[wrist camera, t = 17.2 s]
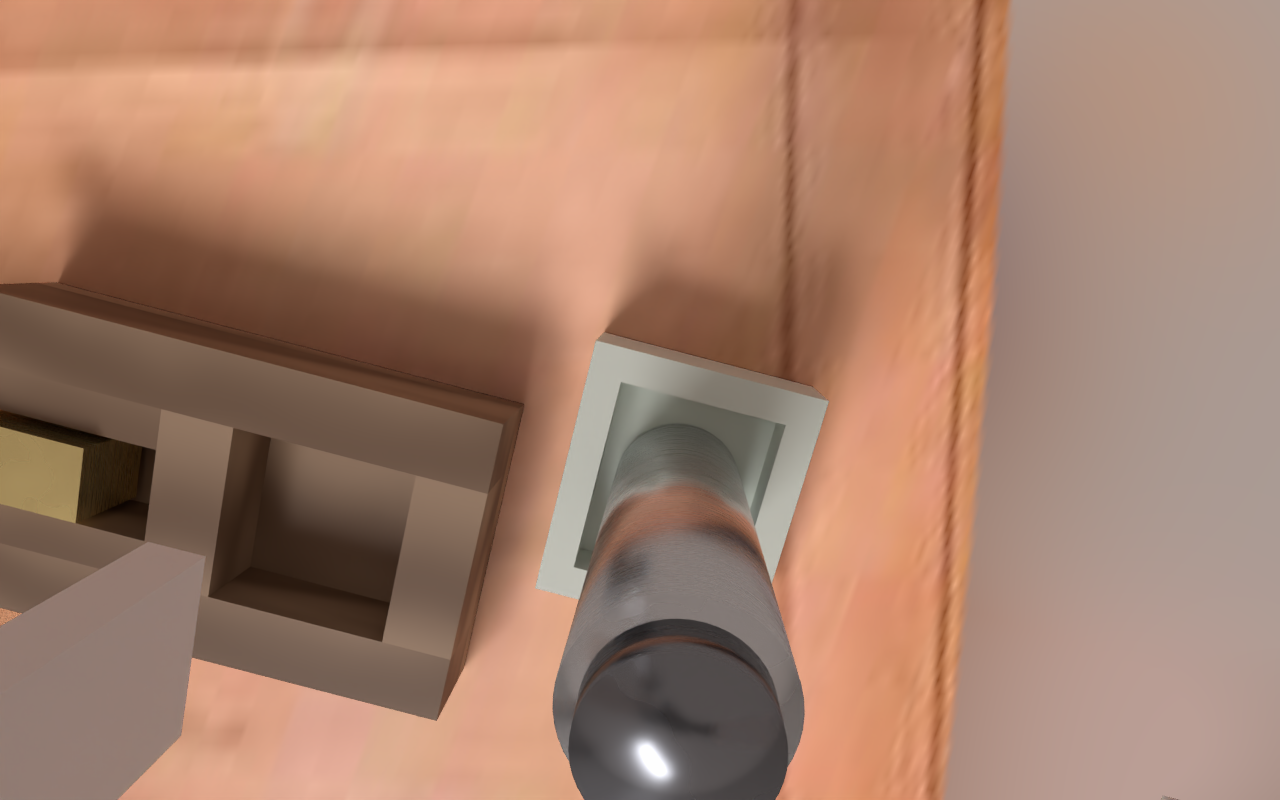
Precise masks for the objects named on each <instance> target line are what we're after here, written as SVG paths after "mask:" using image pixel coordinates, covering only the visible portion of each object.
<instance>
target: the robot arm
mask: <svg viewBox="0 0 1280 800" xmlns="http://www.w3.org/2000/svg"><path fill="white" fill-rule="evenodd" d="M205 557H206V556H202V555H198V554H194V553H190V552H187V551H183V550H179V549H175V548H171V547H167V546H163V545H159V544H155V543H151V542H147V543H145V544H144V545H142V546H140V547H138V548H137V549H135V550H133V551H131V552H130V553H128V554H126V555H124V556H123V557H121V558H119V559H117V560H116V561H114V562H112V563H110V564H108V565H107V566H105V567H103V568H101V569H100V570H98V571H96V572H94V573H93V574H91V575H89V576H87V577H86V578H84V579H82V580H80V581H79V582H77V583H75V584H73V585H72V586H70V587H68V588H66V589H65V590H63V591H61V592H59V593H58V594H56V595H54V596H52V597H51V598H49V599H47V600H45V601H44V602H42V603H40V604H38V605H37V606H35V607H33V608H31V609H30V610H28V611H26V612H24V613H23V614H21V615H19V616H17V617H16V618H14V619H12V620H10V621H8V622H7V623H5V624H3V625H1V626H0V800H118V799H119V798H120V797H121V796H122V795H123V794H124V793H125V792H126V791H127V790H128V789H129V787H130V786H131V785H132V784H133V783H134V782H135V781H136V780H137V779H138V778H139V777H140V776H141V775H142V774H143V773H144V772H145V771H146V770H147V769H148V768H149V767H150V766H151V765H152V764H153V763H154V762H155V761H156V760H157V759H158V758H159V757H160V756H161V755H162V754H163V753H164V752H165V751H166V750H167V749H168V748H169V747H170V746H171V745H172V744H173V743H174V742H175V741H176V740H177V739H178V738H179V737H180V736H181V732H182V725H183V717H184V710H185V703H186V696H187V688H188V681H189V674H190V666H191V659H192V652H193V645H194V637H195V630H196V623H197V615H198V608H199V601H200V593H201V586H202V579H203V572H204V564H205ZM1161 800H1178V799H1174V798H1170V797H1166V796H1162V798H1161Z"/></svg>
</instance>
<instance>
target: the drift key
mask: <svg viewBox="0 0 1280 800" xmlns="http://www.w3.org/2000/svg"><path fill="white" fill-rule="evenodd" d="M141 453H142V446H138V445H135V444H131V443H127V442H123V441H119V440H115V439H111V438H108V437H104V436H100V435H96V434H92V433H88V432H85V431H81V430H77V429H73V428H69V427H65V426H61V425H58V424H54V423H50V422H46V421H42V420H38V419H35V418H31V417H27V416H23V415H19V414H15V413H11V412H8V411H4V410H0V504H3V505H7V506H11V507H15V508H18V509H22V510H26V511H30V512H34V513H38V514H42V515H45V516H49V517H53V518H57V519H61V520H65V521H69V522H72V523H77V522H80V521H82V520H84V519H87V518H89V517H91V516H93V515H96V514H98V513H100V512H103V511H105V510H107V509H109V508H112V507H114V506H116V505H119V504H121V503H123V502H125V501H128V500H130V499H132V498H135V497H136V493H137V485H138V477H139V469H140V461H141Z"/></svg>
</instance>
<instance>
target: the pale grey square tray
mask: <svg viewBox="0 0 1280 800" xmlns="http://www.w3.org/2000/svg"><path fill="white" fill-rule="evenodd" d="M828 403H829V401H828V400H827V399H826V398H825V397H824V396H822V395H821V394H820V393H819V392H818V391H817V390H816V389H815V388H814V387H812V386H808V385H804V384H800V383H796V382H793V381H789V380H785V379H781V378H777V377H773V376H770V375H766V374H762V373H758V372H754V371H750V370H747V369H743V368H739V367H735V366H731V365H727V364H724V363H720V362H716V361H712V360H708V359H705V358H701V357H697V356H693V355H689V354H685V353H682V352H678V351H674V350H670V349H666V348H662V347H659V346H655V345H651V344H647V343H643V342H639V341H636V340H632V339H628V338H624V337H620V336H617V335H613V334H609V333H605V332H604V333H603V334H602V335H601V336H600V337H599V338H598V339H597V340H596V342H595V346H594V350H593V355H592V359H591V363H590V367H589V371H588V375H587V379H586V383H585V387H584V391H583V395H582V399H581V403H580V408H579V412H578V416H577V420H576V424H575V428H574V432H573V436H572V440H571V444H570V448H569V452H568V456H567V461H566V465H565V469H564V473H563V477H562V481H561V485H560V489H559V493H558V497H557V501H556V505H555V509H554V513H553V518H552V522H551V526H550V530H549V534H548V538H547V542H546V546H545V550H544V554H543V558H542V562H541V566H540V571H539V575H538V579H537V583H536V587H535V588H536V589H540V590H544V591H548V592H552V593H556V594H559V595H563V596H567V597H571V598H575V599H579V598H580V595H581V591H582V588H583V584H584V581H585V577H586V574H587V570H588V567H589V563H590V560H591V556H592V553H593V550H594V546H595V543H596V539H597V536H598V532H599V529H600V525H601V522H602V518H603V515H604V512H605V508H606V505H607V501H608V498H609V494H610V491H611V487H612V484H613V480H614V477H615V473H616V470H617V467H618V464H619V461H620V459H621V457H622V455H623V453H624V452H625V450H626V449H627V447H628V446H629V445H630V444H631V443H632V442H633V441H634V440H635V439H636V438H637V437H638V436H640V435H641V434H643V433H644V432H646V431H648V430H650V429H652V428H655V427H658V426H661V425H666V424H675V423H679V424H689V425H694V426H697V427H700V428H702V429H704V430H706V431H708V432H710V433H712V434H713V435H715V436H716V437H717V438H718V439H720V440H721V441H722V442H723V443H724V444H725V446H726V447H727V448H728V449H729V451H730V452H731V454H732V456H733V458H734V460H735V462H736V465H737V468H738V471H739V474H740V478H741V481H742V485H743V488H744V491H745V495H746V498H747V502H748V505H749V508H750V512H751V515H752V519H753V522H754V526H755V529H756V532H757V536H758V539H759V543H760V546H761V549H762V553H763V556H764V560H765V563H766V566H767V570H768V573H769V577H770V580H771V583H772V581H773V578H774V574H775V571H776V568H777V565H778V562H779V558H780V555H781V552H782V549H783V546H784V543H785V539H786V536H787V533H788V530H789V527H790V524H791V520H792V517H793V514H794V511H795V508H796V504H797V501H798V498H799V495H800V492H801V489H802V485H803V482H804V479H805V476H806V473H807V469H808V466H809V463H810V460H811V457H812V454H813V450H814V447H815V444H816V441H817V438H818V435H819V431H820V428H821V425H822V422H823V419H824V415H825V412H826V409H827V406H828Z"/></svg>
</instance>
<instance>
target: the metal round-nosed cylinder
mask: <svg viewBox="0 0 1280 800" xmlns="http://www.w3.org/2000/svg"><path fill="white" fill-rule="evenodd" d="M553 716H554V724H555V728H556V732H557V736H558V739H559V742H560V744H561V747H562V749H563V752H564V753H565V755H566V757H567V759H568V760H569V762H570V767H571V771H572V775H573V778H574V780H575V783H576V785H577V788H578V789H579V791H580V793H581V795H582V796H583V798H584V800H775V799H776V797H777V796H778V794H779V792H780V789H781V787H782V785H783V782H784V779H785V775H786V771H787V767H788V765H789V764H790V762H791V760H792V759H793V757H794V754H795V752H796V750H797V747H798V745H799V742H800V738H801V734H802V731H803V723H804V697H803V692H802V686H801V682H800V679H799V675H798V672H797V669H796V665H795V662H794V658H793V655H792V652H791V648H790V645H789V641H788V638H787V634H786V631H785V628H784V624H783V621H782V617H781V614H780V611H779V607H778V604H777V600H776V597H775V594H774V590H773V587H772V583H771V580H770V577H769V573H768V570H767V566H766V563H765V560H764V556H763V553H762V549H761V546H760V543H759V539H758V536H757V532H756V529H755V526H754V522H753V519H752V515H751V512H750V508H749V505H748V502H747V498H746V495H745V491H744V488H743V485H742V481H741V478H740V474H739V471H738V468H737V465H736V462H735V460H734V458H733V456H732V454H731V452H730V451H729V449H728V448H727V447H726V446H725V444H724V443H723V442H722V441H721V440H720V439H718V438H717V437H716V436H715V435H713V434H712V433H710V432H708V431H706V430H704V429H702V428H700V427H697V426H694V425H689V424H679V423H675V424H666V425H661V426H658V427H655V428H652V429H650V430H648V431H646V432H644V433H643V434H641V435H640V436H638V437H637V438H636V439H635V440H634V441H633V442H632V443H631V444H630V445H629V446H628V447H627V449H626V450H625V452H624V453H623V455H622V457H621V459H620V461H619V464H618V467H617V470H616V473H615V477H614V480H613V484H612V487H611V491H610V494H609V498H608V501H607V505H606V508H605V512H604V515H603V518H602V522H601V525H600V529H599V532H598V536H597V539H596V543H595V546H594V550H593V553H592V556H591V560H590V563H589V567H588V570H587V574H586V577H585V581H584V584H583V588H582V591H581V595H580V598H579V601H578V605H577V608H576V612H575V615H574V619H573V622H572V626H571V629H570V633H569V636H568V639H567V643H566V646H565V650H564V653H563V657H562V660H561V664H560V667H559V671H558V674H557V678H556V682H555V687H554V693H553Z"/></svg>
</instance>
